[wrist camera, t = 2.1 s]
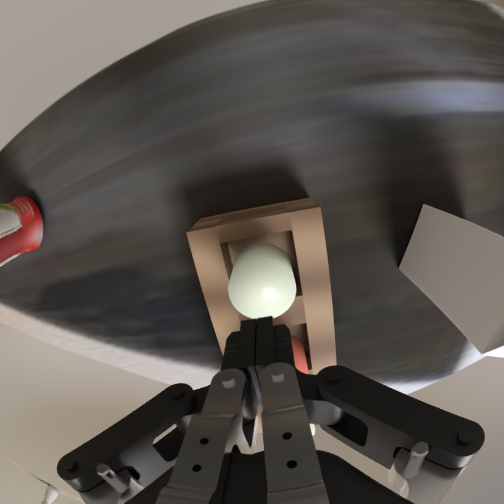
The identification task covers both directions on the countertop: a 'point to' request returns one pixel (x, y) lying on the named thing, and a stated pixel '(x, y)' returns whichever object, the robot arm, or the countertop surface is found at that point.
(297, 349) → the red ball
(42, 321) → the countertop surface
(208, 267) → the wooden ball rack
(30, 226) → the liquor
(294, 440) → the robot arm
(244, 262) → the pale green sphere
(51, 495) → the salt shaker
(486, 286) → the milk carton
